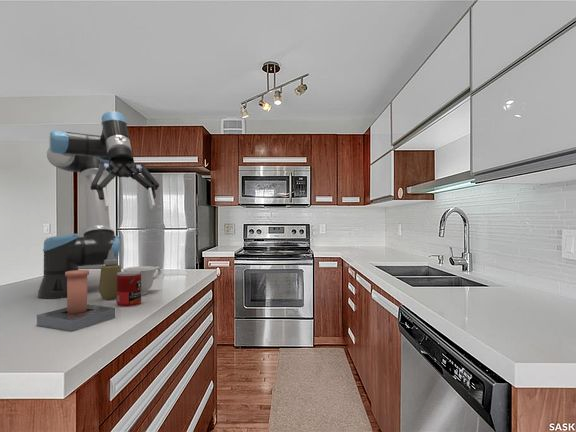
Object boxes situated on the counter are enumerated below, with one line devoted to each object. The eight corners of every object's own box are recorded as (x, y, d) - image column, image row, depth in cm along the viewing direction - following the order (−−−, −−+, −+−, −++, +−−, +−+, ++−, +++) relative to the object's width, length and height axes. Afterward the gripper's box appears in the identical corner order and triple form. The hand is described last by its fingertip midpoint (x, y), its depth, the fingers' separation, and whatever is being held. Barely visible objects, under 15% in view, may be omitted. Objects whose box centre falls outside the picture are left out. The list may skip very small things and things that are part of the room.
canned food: (132, 307, 123) (132, 274, 123) (111, 306, 124) (111, 273, 124) (146, 301, 130) (145, 270, 130) (125, 301, 132) (125, 270, 132)
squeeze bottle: (127, 296, 138) (127, 249, 138) (111, 301, 131) (110, 251, 131) (111, 295, 141) (110, 248, 141) (93, 300, 133) (93, 250, 133)
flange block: (36, 325, 102) (36, 314, 102) (82, 313, 115) (82, 303, 115) (71, 331, 97) (71, 320, 97) (115, 317, 109) (115, 307, 109)
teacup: (168, 292, 147) (168, 267, 147) (132, 298, 136) (132, 271, 136) (153, 288, 155) (153, 264, 155) (117, 294, 144) (117, 268, 144)
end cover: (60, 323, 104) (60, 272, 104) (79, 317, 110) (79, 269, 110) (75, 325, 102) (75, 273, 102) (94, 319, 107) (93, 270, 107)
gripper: (78, 142, 111) (86, 202, 104) (160, 148, 127) (173, 200, 119) (75, 156, 117) (83, 215, 109) (154, 161, 132) (166, 212, 124)
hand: (130, 207), depth 114 cm, fingers open, 13 cm apart
